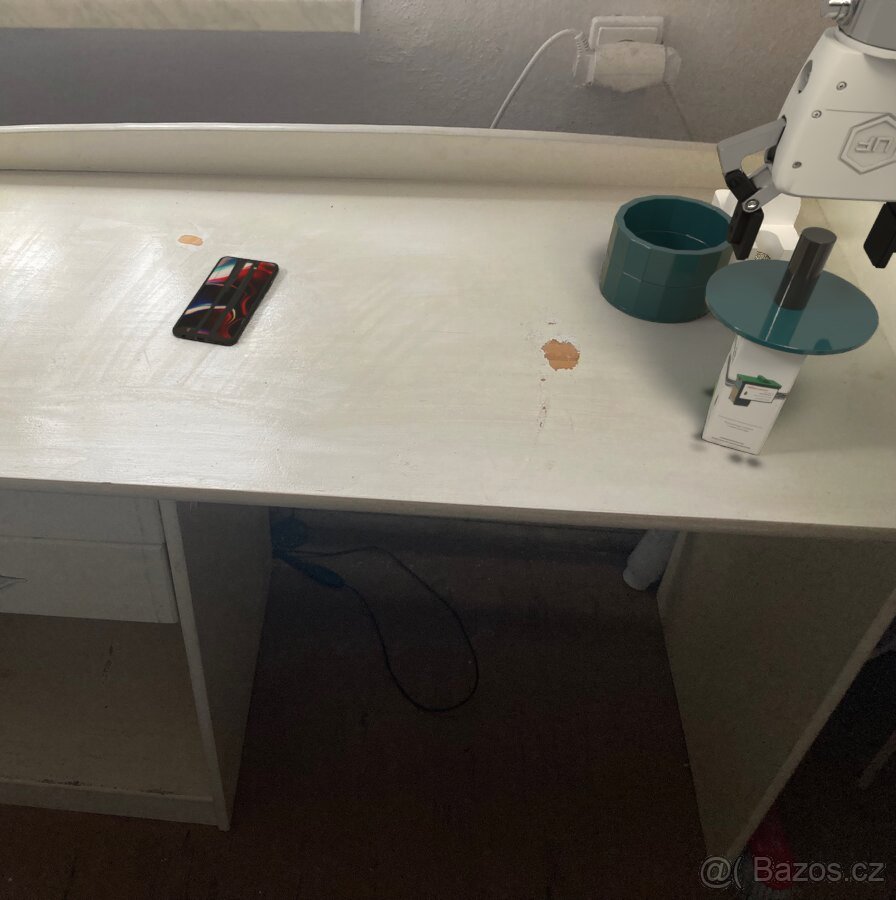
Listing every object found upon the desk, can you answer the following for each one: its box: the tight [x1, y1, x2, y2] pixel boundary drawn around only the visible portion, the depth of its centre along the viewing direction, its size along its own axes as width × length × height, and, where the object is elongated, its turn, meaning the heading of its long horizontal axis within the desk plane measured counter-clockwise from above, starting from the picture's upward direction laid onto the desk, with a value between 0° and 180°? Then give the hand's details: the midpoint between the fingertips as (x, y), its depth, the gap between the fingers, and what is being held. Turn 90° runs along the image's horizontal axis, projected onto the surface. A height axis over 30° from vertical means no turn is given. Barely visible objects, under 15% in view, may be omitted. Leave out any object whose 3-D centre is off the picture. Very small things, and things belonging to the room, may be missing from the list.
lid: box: [705, 226, 880, 356], centre depth 67 cm, size 13×13×6 cm
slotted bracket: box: [710, 173, 802, 265], centre depth 95 cm, size 13×7×8 cm, turn 171°
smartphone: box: [171, 255, 280, 346], centre depth 93 cm, size 7×1×15 cm
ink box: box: [701, 334, 808, 455], centre depth 73 cm, size 9×5×12 cm, turn 153°
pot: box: [599, 194, 733, 324], centre depth 89 cm, size 12×12×8 cm
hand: (804, 254), depth 66 cm, fingers open, 9 cm apart
